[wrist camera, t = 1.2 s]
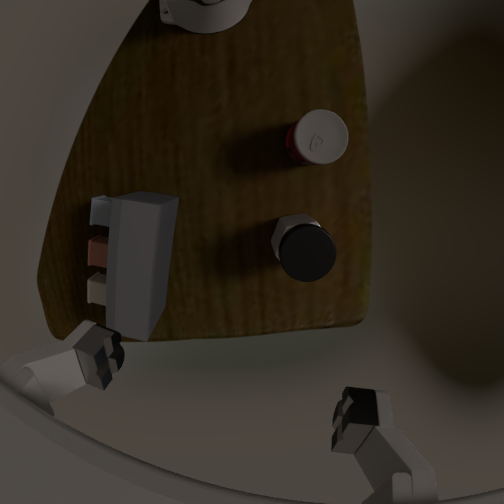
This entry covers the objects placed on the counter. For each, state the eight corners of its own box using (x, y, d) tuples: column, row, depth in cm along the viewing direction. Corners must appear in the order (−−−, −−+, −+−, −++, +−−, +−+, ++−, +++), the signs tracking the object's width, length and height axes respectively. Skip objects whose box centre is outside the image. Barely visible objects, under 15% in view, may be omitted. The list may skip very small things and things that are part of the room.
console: (131, 299, 57) (106, 331, 45) (141, 190, 52) (112, 197, 40) (165, 307, 58) (146, 341, 45) (179, 196, 53) (159, 205, 40)
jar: (328, 241, 55) (349, 259, 44) (293, 269, 56) (305, 295, 45) (298, 202, 53) (312, 211, 42) (261, 232, 55) (266, 249, 43)
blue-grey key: (100, 220, 50) (89, 224, 46) (103, 195, 49) (92, 197, 45) (139, 227, 50) (130, 232, 46) (142, 201, 49) (133, 204, 45)
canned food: (279, 157, 51) (287, 154, 41) (292, 114, 49) (303, 101, 39) (321, 171, 52) (339, 172, 41) (333, 128, 50) (354, 119, 39)
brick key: (98, 258, 52) (87, 265, 47) (99, 234, 51) (88, 240, 46) (135, 266, 52) (127, 274, 48) (137, 241, 51) (129, 248, 47)
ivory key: (97, 293, 53) (87, 302, 49) (97, 271, 52) (87, 279, 48) (133, 302, 54) (125, 312, 50) (134, 279, 53) (126, 288, 49)
